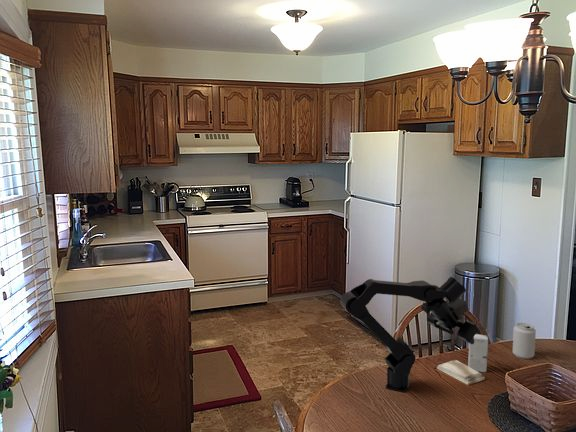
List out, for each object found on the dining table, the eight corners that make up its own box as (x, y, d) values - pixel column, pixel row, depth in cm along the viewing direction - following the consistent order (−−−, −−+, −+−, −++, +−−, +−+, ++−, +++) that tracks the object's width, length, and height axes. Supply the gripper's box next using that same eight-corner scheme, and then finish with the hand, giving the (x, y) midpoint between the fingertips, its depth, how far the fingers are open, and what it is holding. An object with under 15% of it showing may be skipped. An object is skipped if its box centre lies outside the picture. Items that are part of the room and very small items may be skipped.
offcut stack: (467, 385, 161) (467, 378, 160) (436, 368, 173) (436, 362, 173) (484, 379, 164) (485, 372, 164) (453, 363, 177) (453, 357, 176)
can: (532, 361, 177) (533, 330, 176) (510, 356, 182) (511, 326, 180) (536, 354, 183) (537, 324, 182) (514, 349, 188) (516, 320, 186)
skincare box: (468, 370, 171) (469, 337, 170) (467, 365, 175) (468, 333, 174) (487, 372, 169) (488, 339, 168) (486, 367, 174) (487, 334, 172)
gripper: (477, 300, 154) (498, 329, 161) (435, 285, 171) (456, 312, 177) (457, 327, 152) (479, 355, 158) (416, 309, 168) (438, 335, 175)
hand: (462, 338), depth 167 cm, fingers open, 9 cm apart
